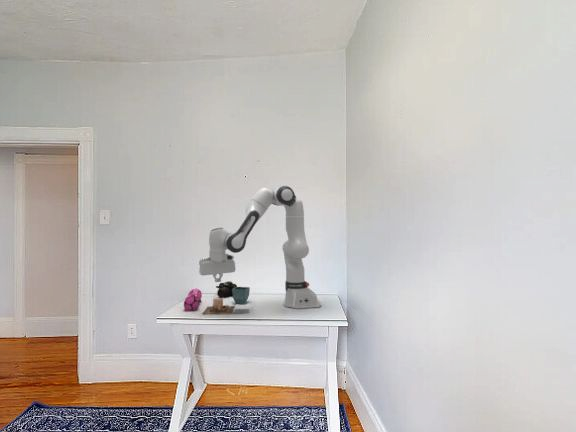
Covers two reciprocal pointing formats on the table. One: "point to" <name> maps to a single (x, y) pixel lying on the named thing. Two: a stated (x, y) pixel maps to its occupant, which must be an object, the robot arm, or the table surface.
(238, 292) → the flower pot
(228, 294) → the film camera
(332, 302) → the table surface
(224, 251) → the robot arm
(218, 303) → the toggle lever handle
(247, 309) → the mat
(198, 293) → the pencil case
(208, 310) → the socket board
